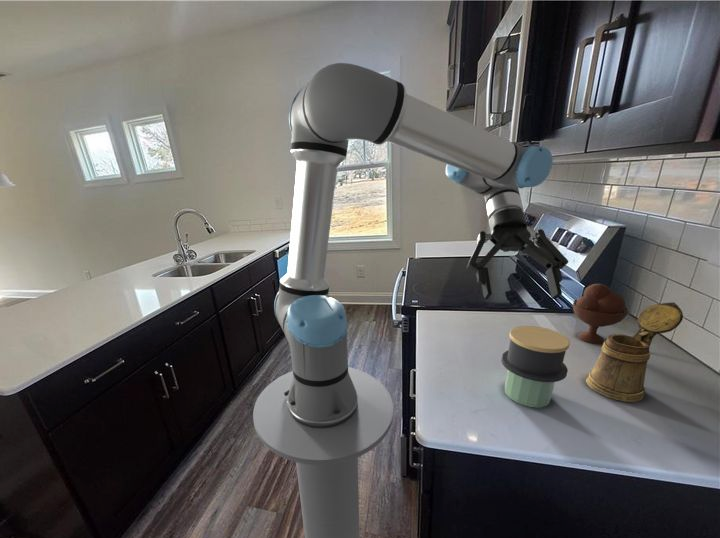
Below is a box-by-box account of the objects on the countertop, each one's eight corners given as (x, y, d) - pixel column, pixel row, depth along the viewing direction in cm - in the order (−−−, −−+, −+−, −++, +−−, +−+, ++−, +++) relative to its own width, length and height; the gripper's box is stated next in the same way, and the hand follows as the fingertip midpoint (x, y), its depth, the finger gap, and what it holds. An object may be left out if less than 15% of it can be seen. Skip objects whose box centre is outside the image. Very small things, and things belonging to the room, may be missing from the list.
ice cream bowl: (563, 341, 84) (576, 288, 79) (567, 326, 92) (580, 277, 87) (617, 353, 78) (635, 296, 72) (616, 335, 86) (633, 283, 80)
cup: (508, 403, 64) (513, 374, 61) (501, 380, 71) (506, 353, 68) (555, 410, 61) (563, 380, 58) (543, 386, 68) (550, 358, 65)
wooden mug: (672, 392, 64) (706, 310, 57) (620, 406, 61) (649, 321, 55) (623, 368, 72) (648, 294, 65) (575, 380, 69) (596, 304, 63)
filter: (504, 386, 61) (511, 347, 58) (496, 356, 71) (501, 322, 68) (573, 395, 57) (584, 354, 54) (554, 363, 67) (563, 327, 64)
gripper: (555, 224, 78) (576, 303, 70) (448, 228, 82) (456, 303, 74) (572, 203, 71) (598, 288, 63) (454, 209, 75) (464, 289, 67)
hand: (521, 296), depth 68 cm, fingers open, 13 cm apart
